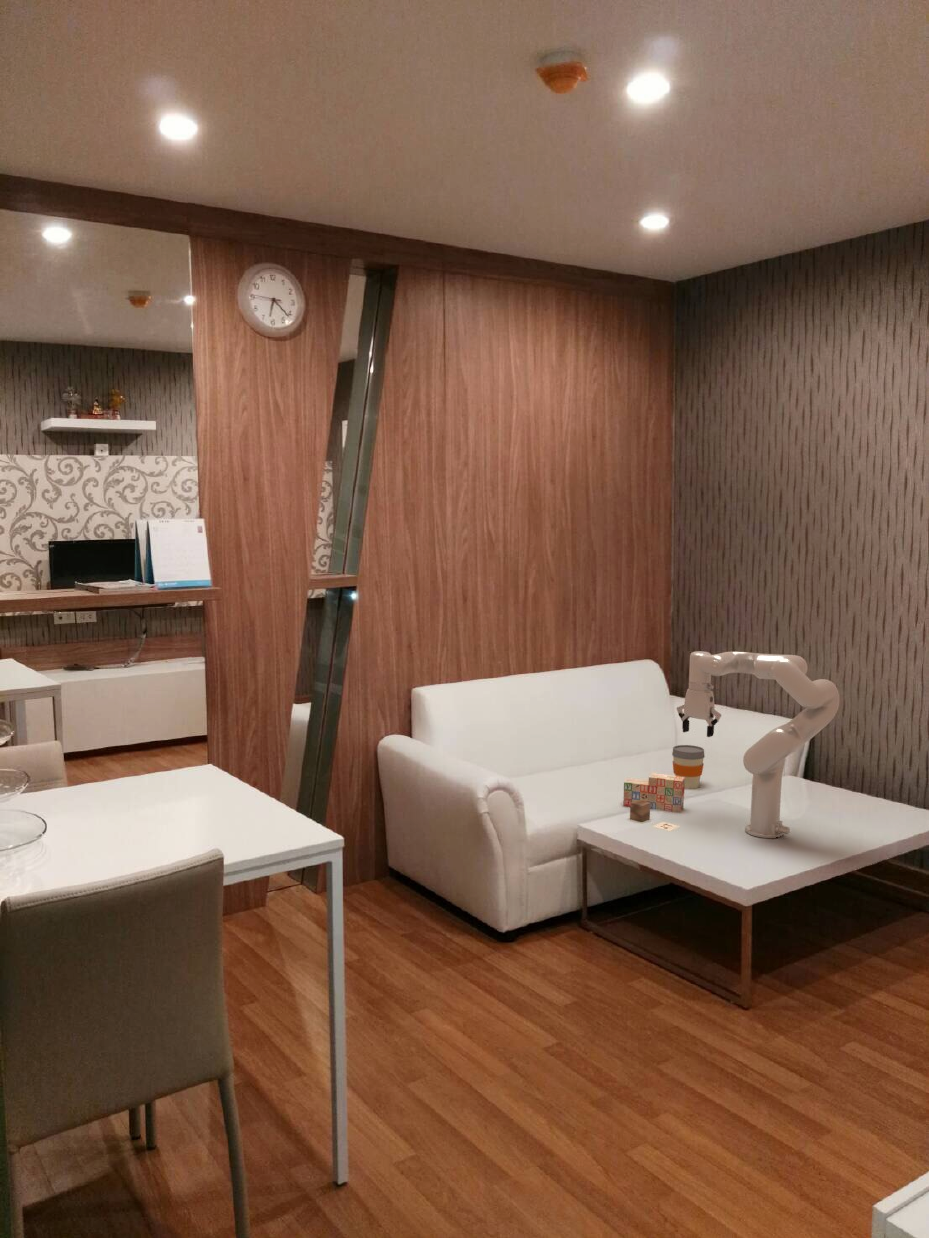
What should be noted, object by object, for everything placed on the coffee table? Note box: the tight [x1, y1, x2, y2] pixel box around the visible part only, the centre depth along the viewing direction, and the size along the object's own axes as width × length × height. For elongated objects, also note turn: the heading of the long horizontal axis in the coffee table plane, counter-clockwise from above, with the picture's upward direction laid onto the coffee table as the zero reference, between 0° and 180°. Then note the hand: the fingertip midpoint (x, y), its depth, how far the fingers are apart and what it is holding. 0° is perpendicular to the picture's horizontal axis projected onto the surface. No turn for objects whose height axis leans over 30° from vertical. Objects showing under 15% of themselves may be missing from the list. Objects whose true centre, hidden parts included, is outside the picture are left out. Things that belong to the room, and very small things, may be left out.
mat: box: [626, 817, 681, 832], centre depth 354 cm, size 21×16×1 cm
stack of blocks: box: [622, 772, 685, 814], centre depth 372 cm, size 21×6×12 cm, turn 68°
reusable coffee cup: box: [671, 744, 705, 790], centre depth 400 cm, size 13×13×15 cm
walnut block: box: [629, 800, 651, 823], centre depth 357 cm, size 5×5×6 cm
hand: (697, 734), depth 358 cm, fingers open, 9 cm apart
